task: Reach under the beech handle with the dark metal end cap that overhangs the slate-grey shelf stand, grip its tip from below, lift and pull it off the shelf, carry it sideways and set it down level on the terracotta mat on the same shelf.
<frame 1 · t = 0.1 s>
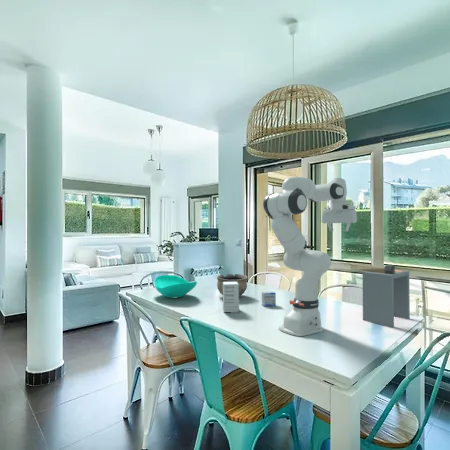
hand: (338, 231, 172), 48 cm above the table, tool pointing down, fingers open, 8 cm apart
supplement box: (230, 310, 182), on the table
table top decor: (175, 297, 218), on the table
medicine box: (268, 305, 193), on the table
shelf stand: (386, 319, 163), on the table
beech handle: (371, 271, 165), point 26 cm above the table, touching shelf stand
ceramic bowl: (232, 297, 217), on the table
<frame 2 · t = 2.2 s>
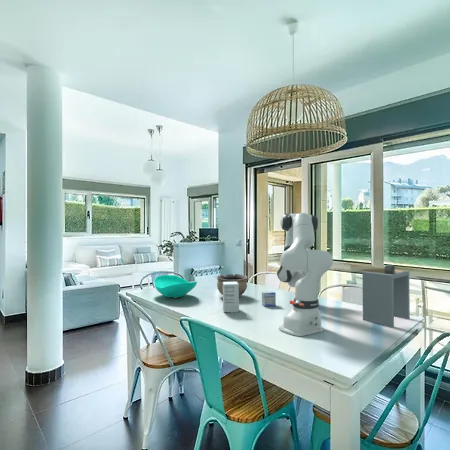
hand: (323, 265, 188), 26 cm above the table, tool pointing upward, fingers open, 8 cm apart
nothing on the table moved.
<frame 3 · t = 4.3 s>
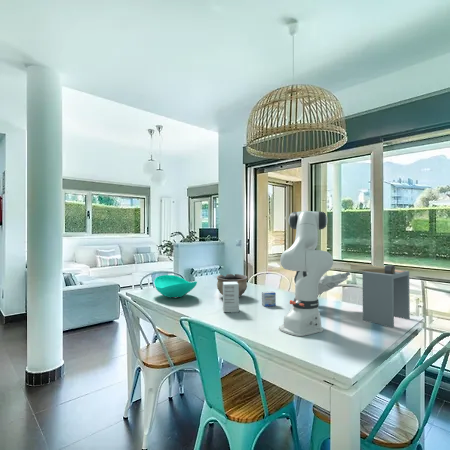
hand: (345, 273, 177), 23 cm above the table, tool pointing upward, fingers open, 8 cm apart
nothing on the table moved.
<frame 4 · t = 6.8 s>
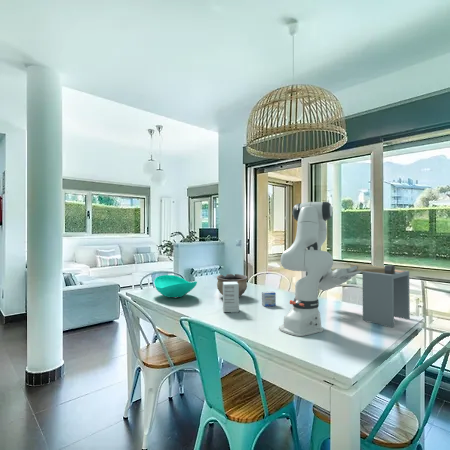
hand: (359, 266, 170), 28 cm above the table, tool pointing upward, fingers closed on beech handle, 4 cm apart
beech handle: (371, 271, 165), point 26 cm above the table, touching gripper, shelf stand
everything else where it was.
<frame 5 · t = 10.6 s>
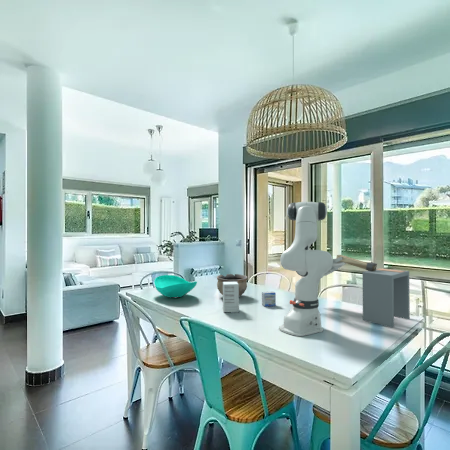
hand: (344, 257, 179), 32 cm above the table, tool pointing upward, fingers closed on beech handle, 4 cm apart
beech handle: (354, 265, 174), point 28 cm above the table, tilted 12°, touching gripper
everything else where it was.
when the fingers open (29 cm above the table, at t = 14.8 s): beech handle stays where it is, resting on shelf stand.
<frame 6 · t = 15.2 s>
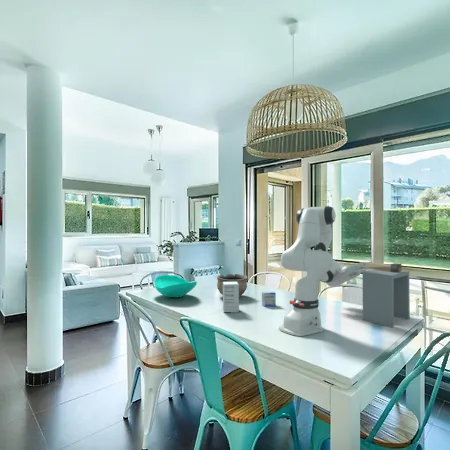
hand: (368, 263, 176), 29 cm above the table, tool pointing upward, fingers open, 8 cm apart
beech handle: (379, 269, 170), point 26 cm above the table, touching shelf stand
everything else where it was.
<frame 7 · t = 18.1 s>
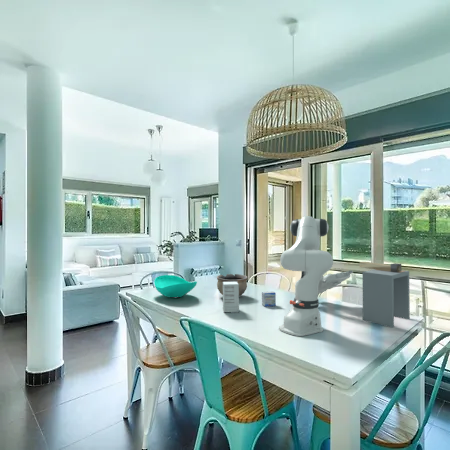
hand: (347, 272, 185), 22 cm above the table, tool pointing upward, fingers open, 8 cm apart
nothing on the table moved.
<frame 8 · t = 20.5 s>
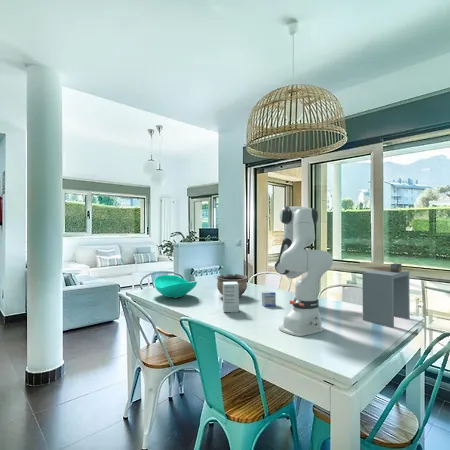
hand: (321, 255, 187), 32 cm above the table, tool pointing upward, fingers open, 8 cm apart
nothing on the table moved.
at the end: beech handle inside the target area (0.9 cm from its centre), point 26.3 cm above the table; beech handle tilted 0°; the gripper is holding nothing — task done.
